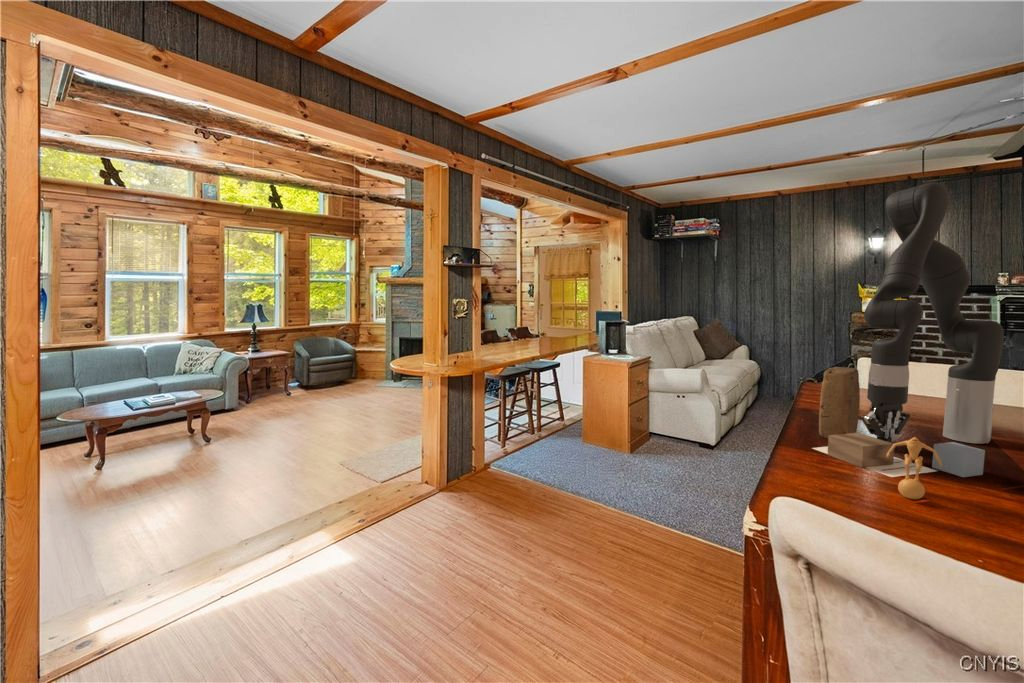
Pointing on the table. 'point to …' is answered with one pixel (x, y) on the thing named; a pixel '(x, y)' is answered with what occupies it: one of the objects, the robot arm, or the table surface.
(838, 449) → the walnut block
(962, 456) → the slate cube
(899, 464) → the letter
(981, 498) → the table surface
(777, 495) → the table surface
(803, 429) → the table surface
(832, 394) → the block
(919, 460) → the figurine
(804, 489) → the table surface
